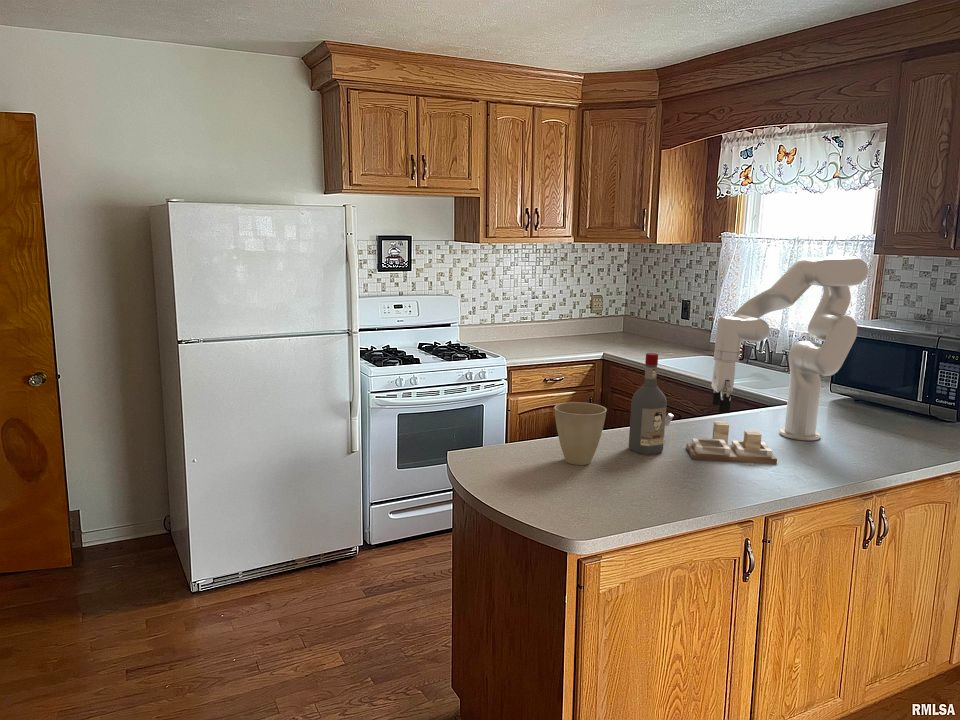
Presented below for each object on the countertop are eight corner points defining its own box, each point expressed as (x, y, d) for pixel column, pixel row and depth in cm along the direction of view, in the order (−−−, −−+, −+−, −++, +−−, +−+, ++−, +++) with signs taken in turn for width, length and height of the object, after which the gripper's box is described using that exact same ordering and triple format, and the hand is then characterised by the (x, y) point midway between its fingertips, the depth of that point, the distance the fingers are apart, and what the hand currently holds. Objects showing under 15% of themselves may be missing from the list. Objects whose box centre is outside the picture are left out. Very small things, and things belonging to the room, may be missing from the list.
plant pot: (612, 459, 222) (615, 407, 219) (589, 473, 210) (592, 417, 207) (567, 450, 230) (569, 399, 227) (542, 462, 218) (544, 409, 215)
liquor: (624, 447, 233) (630, 352, 228) (647, 444, 238) (654, 350, 232) (643, 456, 225) (650, 357, 220) (667, 452, 230) (674, 355, 224)
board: (686, 447, 235) (688, 424, 234) (765, 451, 233) (768, 428, 231) (693, 459, 223) (694, 435, 222) (776, 464, 221) (779, 439, 220)
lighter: (651, 433, 249) (652, 410, 248) (654, 432, 251) (655, 409, 249) (669, 438, 244) (671, 414, 243) (672, 437, 245) (674, 413, 244)
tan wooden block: (712, 439, 245) (713, 421, 244) (724, 439, 244) (726, 421, 243) (714, 442, 241) (716, 424, 240) (727, 443, 241) (729, 425, 239)
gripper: (709, 350, 246) (703, 401, 249) (720, 360, 229) (713, 414, 232) (732, 352, 245) (726, 403, 249) (745, 361, 229) (738, 416, 232)
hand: (720, 408), depth 240 cm, fingers open, 9 cm apart
